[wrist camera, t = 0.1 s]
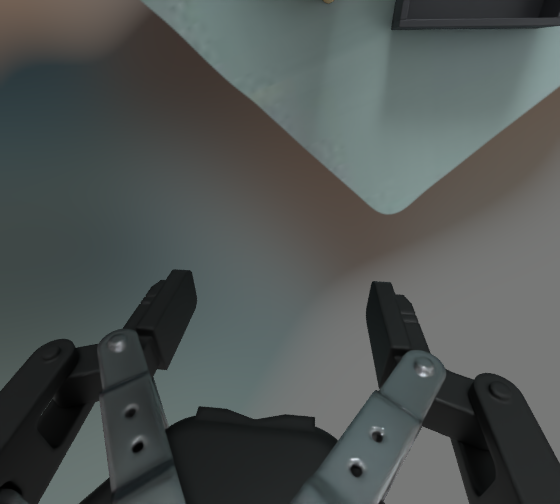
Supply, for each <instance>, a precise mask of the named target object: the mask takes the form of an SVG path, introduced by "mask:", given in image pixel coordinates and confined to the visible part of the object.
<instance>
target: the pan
mask: <svg viewBox="0 0 560 504" xmlns="http://www.w3.org/2000/svg"><path fill="white" fill-rule="evenodd" d="M553 26H560V0H396V2H395V9H394V15H393V22H392V28H391V30H423V29H510V28H544V27H553Z"/></svg>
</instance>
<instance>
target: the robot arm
mask: <svg viewBox="0 0 560 504" xmlns="http://www.w3.org/2000/svg"><path fill="white" fill-rule="evenodd" d="M196 304H197V295H196V290H195V285H194V280H193V276H192V272H191V271H190V270H172V271H171V273H170V275H169V276H168V278H167V279H166V280H160V281H159V282H158V283H156V284H155V285H154V286H152V287H151V289H150V290H149V291H148V293H147V294H146V297H144V298H143V300H142V301H141V304H139V306H138V307H137V309H136V310H135V311H134V313H133V314H132V316H131V317H130V319H129V320H128V321H127V323H126V324H125V326H124V327H123V329H119V330H116V331H113V332H111V333H109V334H108V335H106V336H105V337H104V338H103V339H102V340H101V341H100V342H99V344H95V345H89V346H83V347H78V348H75V346H74V344H73V342H72V341H70V340H68V339H58V340H54V341H51V342H49V343H47V344H45V345H43V346H41V347H40V348H38V349H37V350H36V351H35V352H34V353H33V354H32V355H31V356H30V357H29V359H28V360H27V361H26V362H25V363H24V365H23V366H22V367H21V368H20V369H19V370H18V371H17V373H16V374H15V375H14V376H13V377H12V378H11V380H10V381H9V382H8V383H7V384H6V385H5V386H4V388H3V389H2V390H1V391H0V504H38V503H39V501H40V499H41V497H42V495H43V494H44V492H45V490H46V488H47V487H48V485H49V483H50V481H51V479H52V478H53V476H54V474H55V472H56V471H57V469H58V467H59V465H60V464H61V462H62V460H63V458H64V457H65V455H66V452H67V451H68V449H69V448H70V446H71V444H72V442H73V441H74V439H75V437H76V435H77V433H78V432H79V430H80V428H81V426H82V425H83V423H84V421H85V419H86V418H87V416H88V414H89V412H90V410H91V409H92V407H93V405H94V403H95V402H97V401H100V408H101V415H102V423H103V431H104V438H105V446H106V452H107V461H108V469H109V476H110V477H109V478H108V479H107V480H106V481H105V482H103V483H102V484H101V485H100V486H99V487H98V488H96V489H95V490H94V491H93V492H92V493H91V494H89V495H88V496H87V497H86V498H85V499H84V500H83V501H81V502H80V503H79V504H385V503H384V502H383V501H384V499H385V497H386V496H387V494H388V492H389V490H390V488H391V485H392V484H393V482H394V480H395V478H396V476H397V474H398V472H399V470H400V468H401V466H402V464H403V462H404V460H405V458H406V457H407V455H408V453H409V451H410V449H411V447H412V445H413V443H414V441H415V439H416V437H417V436H418V434H419V432H420V430H421V428H422V426H423V427H426V428H428V429H431V430H433V431H436V432H438V433H441V434H443V435H445V436H448V437H450V438H451V442H452V445H453V449H454V452H455V456H456V459H457V463H458V466H459V469H460V473H461V476H462V480H463V483H464V487H465V490H466V493H467V497H468V500H469V504H560V463H559V462H558V460H557V458H556V456H555V454H554V452H553V450H552V448H551V447H550V445H549V443H548V441H547V439H546V437H545V435H544V433H543V432H542V430H541V428H540V426H539V424H538V422H537V421H536V419H535V417H534V415H533V413H532V411H531V409H530V407H529V406H528V404H527V402H526V400H525V398H524V396H523V395H522V393H521V392H520V390H519V389H518V388H517V387H516V386H515V385H514V384H513V383H511V382H510V381H508V380H507V379H505V378H503V377H501V376H499V375H496V374H491V373H483V374H479V375H478V376H477V377H476V378H475V380H473V379H470V378H467V377H464V376H461V375H459V374H455V373H453V372H451V371H449V370H447V369H445V367H444V365H443V364H442V363H441V361H440V360H439V359H438V358H436V357H435V356H433V355H432V354H431V353H430V351H429V348H428V345H427V343H426V340H425V338H424V335H423V332H422V330H421V327H420V324H419V323H418V319H417V317H416V315H415V312H414V309H413V306H412V304H411V303H410V302H409V301H408V299H406V297H404V295H396V294H395V292H394V290H393V286H392V284H391V283H390V282H377V281H373V282H372V284H371V289H370V293H369V298H368V303H367V308H366V321H367V327H368V333H369V338H370V343H371V349H372V354H373V359H374V365H375V370H376V375H377V381H378V386H379V389H380V390H379V391H377V390H375V391H374V392H373V393H372V395H371V396H370V397H369V399H368V400H367V401H366V403H365V404H364V406H363V407H362V409H361V410H360V411H359V413H358V414H357V415H356V417H355V418H354V420H353V421H352V422H351V424H350V425H349V426H348V428H347V429H346V431H345V432H344V433H343V435H342V436H341V438H340V439H339V440H337V439H336V438H335V437H333V436H332V435H330V434H329V433H328V432H326V431H324V430H322V429H320V428H317V427H315V417H308V416H296V415H286V414H285V415H279V416H273V417H268V418H261V419H252V418H249V417H246V416H244V415H241V414H239V413H236V412H233V411H231V410H228V409H222V408H212V407H201V406H200V407H199V408H198V411H197V414H196V416H192V417H189V418H185V419H183V420H180V421H178V422H176V423H174V424H173V425H171V426H170V427H169V425H168V422H167V419H166V416H165V413H164V410H163V406H162V403H161V400H160V396H159V393H158V390H157V387H156V383H155V380H154V377H153V376H154V374H155V372H156V370H157V369H161V370H167V369H168V367H169V365H170V362H171V360H172V358H173V356H174V354H175V352H176V349H177V347H178V345H179V343H180V341H181V339H182V337H183V334H184V332H185V330H186V328H187V326H188V324H189V322H190V319H191V317H192V315H193V313H194V311H195V308H196ZM52 398H53V399H52ZM50 401H51V402H50ZM48 404H49V405H48ZM47 405H48V406H47ZM46 407H47V408H46ZM45 408H46V409H45ZM43 411H44V412H43ZM41 414H42V415H41Z"/></svg>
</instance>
